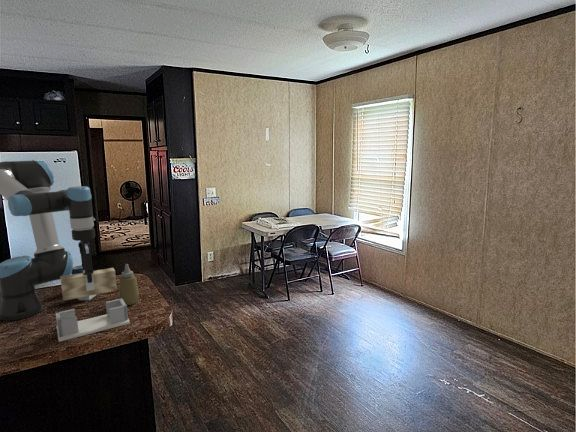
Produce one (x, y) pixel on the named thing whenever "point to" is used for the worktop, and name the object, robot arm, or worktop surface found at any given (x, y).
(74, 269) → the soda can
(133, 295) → the squeeze bottle
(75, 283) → the rail
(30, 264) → the robot arm
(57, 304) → the worktop surface
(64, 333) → the bracket board
